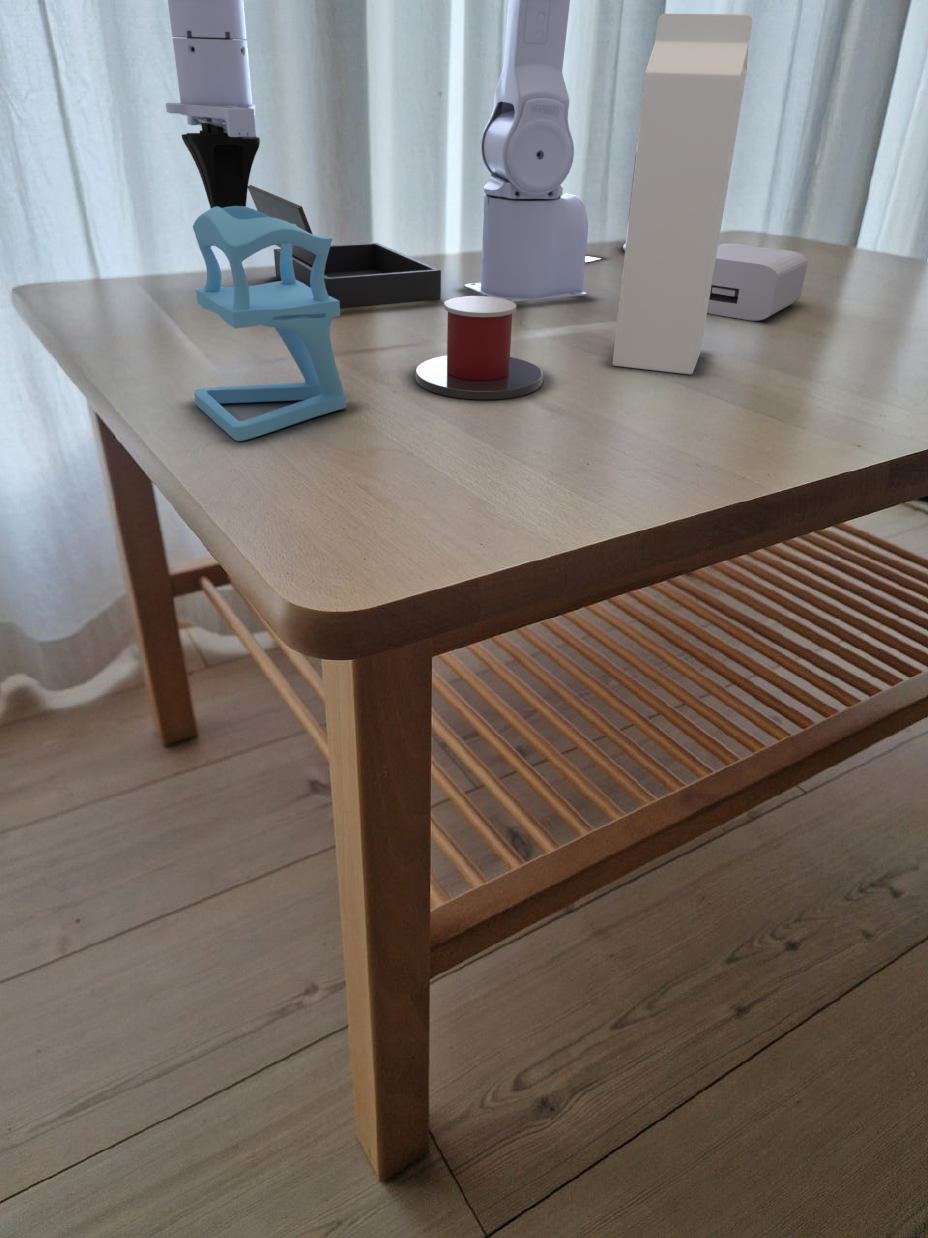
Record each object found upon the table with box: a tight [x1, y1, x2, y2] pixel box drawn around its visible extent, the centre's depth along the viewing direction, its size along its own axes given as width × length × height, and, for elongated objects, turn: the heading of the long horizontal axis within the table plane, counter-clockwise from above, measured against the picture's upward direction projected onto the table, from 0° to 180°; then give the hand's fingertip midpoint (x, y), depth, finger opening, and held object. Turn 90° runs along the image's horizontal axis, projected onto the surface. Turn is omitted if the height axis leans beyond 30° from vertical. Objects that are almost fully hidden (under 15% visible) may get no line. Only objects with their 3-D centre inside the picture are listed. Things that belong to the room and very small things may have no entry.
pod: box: [443, 295, 517, 381], centre depth 61 cm, size 5×5×5 cm
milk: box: [612, 13, 753, 375], centre depth 63 cm, size 6×6×22 cm
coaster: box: [415, 354, 544, 401], centre depth 63 cm, size 9×9×1 cm
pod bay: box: [273, 242, 442, 310], centre depth 85 cm, size 11×15×3 cm
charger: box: [707, 242, 809, 322], centre depth 85 cm, size 5×9×15 cm
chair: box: [192, 206, 347, 442], centre depth 53 cm, size 8×8×12 cm
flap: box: [248, 184, 327, 271], centre depth 80 cm, size 5×15×1 cm
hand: (229, 225), depth 78 cm, fingers closed
